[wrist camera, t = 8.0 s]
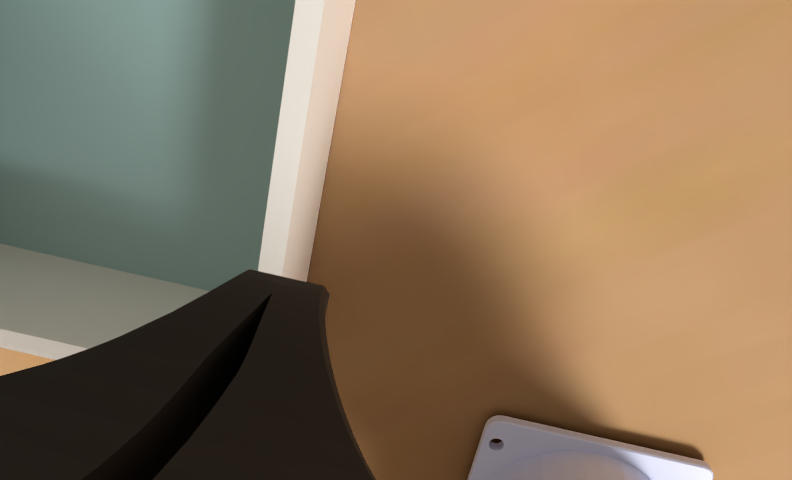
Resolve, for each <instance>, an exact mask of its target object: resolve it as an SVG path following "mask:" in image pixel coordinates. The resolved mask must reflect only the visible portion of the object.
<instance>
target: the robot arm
mask: <svg viewBox="0 0 792 480" xmlns="http://www.w3.org/2000/svg"><path fill="white" fill-rule="evenodd" d="M328 298H329V293H328V291H327V290H326V288H325V287H324V286H322V285H317V284H313V283H309V282H304V281H300V280H295V279H291V278H286V277H282V276H278V275H273V274H269V273H264V272H260V271H256V270H251V269H249V270H247V271H245V272H243V273H241V274H239V275H237V276H236V277H234V278H232V279H230V280H229V281H227V282H225V283H223V284H222V285H220V286H218V287H216V288H215V289H213V290H211V291H209V292H208V293H206V294H204V295H202V296H200V297H199V298H197V299H195V300H193V301H191V302H189V303H188V304H186V305H184V306H182V307H180V308H178V309H176V310H175V311H173V312H171V313H169V314H166V315H164V316H162V317H160V318H158V319H156V320H154V321H152V322H149V323H147V324H145V325H143V326H141V327H139V328H137V329H134V330H132V331H130V332H128V333H126V334H124V335H122V336H119V337H117V338H115V339H112V340H110V341H107V342H105V343H102V344H100V345H97V346H95V347H92V348H89V349H87V350H84V351H81V352H78V353H75V354H72V355H70V356H67V357H64V358H61V359H58V360H55V361H52V362H49V363H46V364H43V365H39V366H36V367H32V368H28V369H25V370H21V371H17V372H14V373H10V374H6V375H3V376H0V480H376V479H375V477H374V476H373V474H372V472H371V470H370V469H369V467H368V465H367V463H366V461H365V459H364V457H363V455H362V453H361V451H360V448H359V446H358V444H357V442H356V440H355V438H354V435H353V433H352V430H351V428H350V425H349V423H348V420H347V418H346V415H345V412H344V409H343V406H342V403H341V400H340V397H339V394H338V390H337V386H336V383H335V379H334V375H333V371H332V367H331V362H330V357H329V350H328V344H327V338H326V328H325V314H326V309H327V303H328ZM492 439H500V440H502V441H501V442H499V443H493V442H491V441H490V440H492ZM713 477H714V475H713V472H712V470H711V468H710V466H709V465H708V464H707V463H706V462H704V461H702V460H698V459H694V458H689V457H685V456H680V455H676V454H672V453H667V452H663V451H658V450H654V449H649V448H645V447H641V446H636V445H632V444H627V443H623V442H618V441H614V440H610V439H605V438H601V437H596V436H592V435H587V434H583V433H579V432H574V431H570V430H565V429H561V428H557V427H552V426H548V425H543V424H539V423H534V422H530V421H526V420H521V419H517V418H512V417H508V416H503V415H496V416H493V417H491V418H490V419H488V420H487V422H486V424H485V427H484V430H483V433H482V436H481V439H480V442H479V445H478V448H477V451H476V454H475V457H474V460H473V463H472V467H471V470H470V473H469V476H468V479H467V480H713Z"/></svg>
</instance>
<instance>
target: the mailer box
mask: <svg viewBox="0 0 792 480" xmlns="http://www.w3.org/2000/svg"><path fill="white" fill-rule="evenodd" d="M355 2H356V0H0V347H1V348H5V349H10V350H14V351H18V352H23V353H27V354H32V355H36V356H41V357H45V358H49V359H54V360H58V359H61V358H64V357H67V356H70V355H72V354H75V353H78V352H81V351H84V350H87V349H89V348H92V347H95V346H97V345H100V344H102V343H105V342H107V341H110V340H112V339H115V338H117V337H119V336H122V335H124V334H126V333H128V332H130V331H132V330H134V329H137V328H139V327H141V326H143V325H145V324H147V323H149V322H152V321H154V320H156V319H158V318H160V317H162V316H164V315H166V314H169V313H171V312H173V311H175V310H176V309H178V308H180V307H182V306H184V305H186V304H188V303H189V302H191V301H193V300H195V299H197V298H199V297H200V296H202V295H204V294H206V293H208V292H209V291H211V290H213V289H215V288H216V287H218V286H220V285H222V284H223V283H225V282H227V281H229V280H230V279H232V278H234V277H236V276H237V275H239V274H241V273H243V272H245V271H247V270H249V269H251V270H256V271H260V272H264V273H269V274H273V275H278V276H282V277H286V278H291V279H295V280H300V281H304V282H307V278H308V272H309V266H310V261H311V255H312V249H313V243H314V238H315V232H316V226H317V220H318V215H319V209H320V203H321V197H322V192H323V186H324V180H325V174H326V169H327V163H328V157H329V151H330V145H331V140H332V134H333V128H334V122H335V117H336V111H337V105H338V99H339V94H340V88H341V82H342V76H343V71H344V65H345V59H346V53H347V48H348V42H349V36H350V30H351V25H352V19H353V13H354V7H355Z"/></svg>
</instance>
